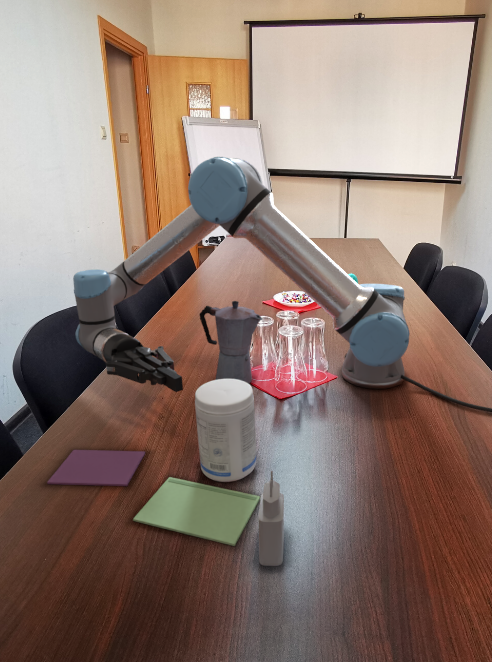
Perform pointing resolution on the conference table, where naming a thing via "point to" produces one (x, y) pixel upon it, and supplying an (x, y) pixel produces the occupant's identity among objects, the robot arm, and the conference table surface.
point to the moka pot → (232, 339)
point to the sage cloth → (199, 510)
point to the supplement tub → (226, 429)
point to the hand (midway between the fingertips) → (178, 384)
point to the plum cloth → (98, 468)
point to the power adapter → (271, 524)
